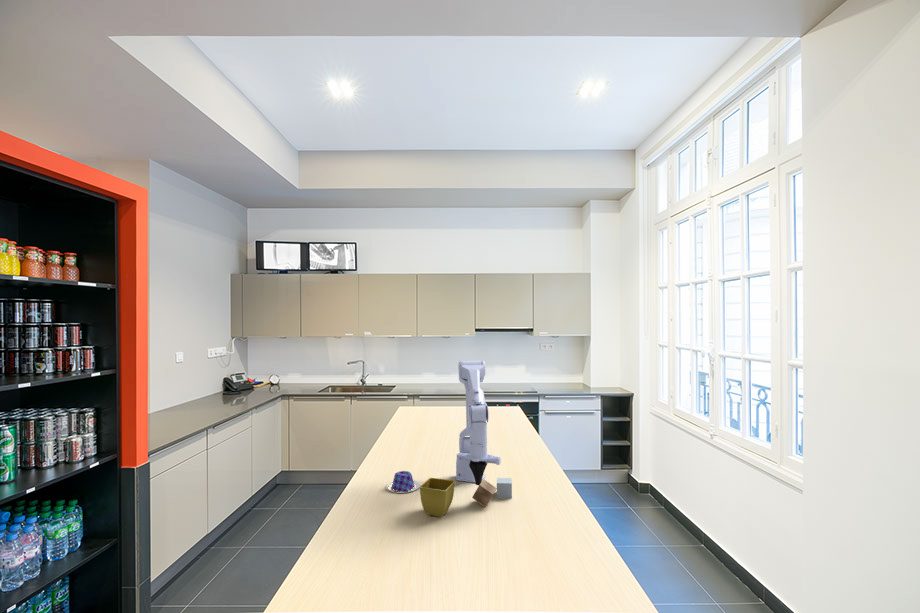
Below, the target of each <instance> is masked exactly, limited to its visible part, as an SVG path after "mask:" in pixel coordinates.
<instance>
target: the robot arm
mask: <svg viewBox="0 0 920 613" xmlns="http://www.w3.org/2000/svg"><path fill="white" fill-rule="evenodd" d="M485 375H486V362H485V361H484V360H459V361H458V380H459V383H461V384H463V386H464V388H465V418H466V422H465V423H466V424H465V426H466V427H465V428H464V429H463V430H461V431H460V432H459V438H458V447H459V452H458V453H457V454H456V462H455V464H456V466H455V469H456V471H455V475H456V476H455V481H459V482H460V481H461V482H466V483H467V482H468V483H475V485H476V486H479V485H480V484H481V482H482V481H483V480H484V478H486V476H487V475H486V474H484V473H485V470H486V468H487V465H488V464H494V465H498V466H500V465H501V462H502V460H501V459H502V457H501V456H495V455H492V454H488V422H489V418H490V417H489V416H490V412H489V408H488V404H487V402H486V399H485V393H484V390H483V389H482V388H481V383H483V382H484V380H485Z"/></svg>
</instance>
